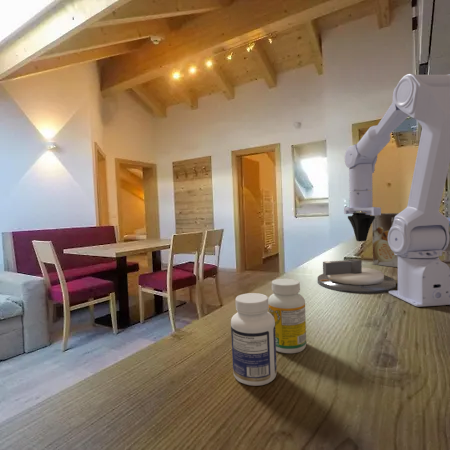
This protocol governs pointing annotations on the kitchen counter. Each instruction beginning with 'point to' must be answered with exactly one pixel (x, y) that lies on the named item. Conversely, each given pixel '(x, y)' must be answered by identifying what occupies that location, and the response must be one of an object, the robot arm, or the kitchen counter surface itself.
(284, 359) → the kitchen counter surface
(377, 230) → the coffee box
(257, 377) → the pill bottle
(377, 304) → the kitchen counter surface
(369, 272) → the dial
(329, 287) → the dial plate
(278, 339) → the supplement bottle
